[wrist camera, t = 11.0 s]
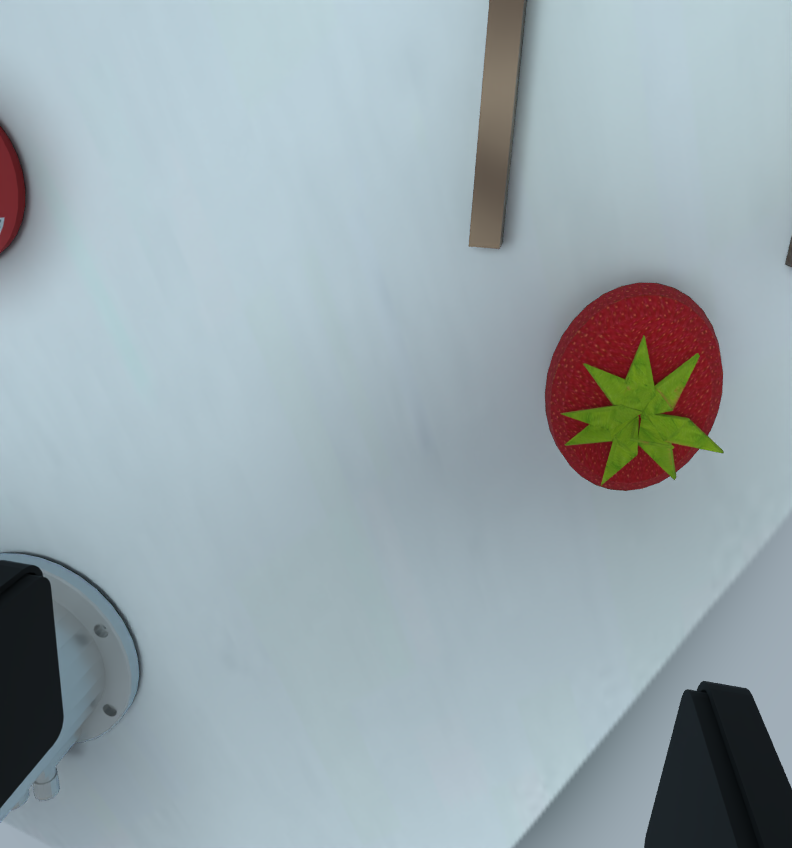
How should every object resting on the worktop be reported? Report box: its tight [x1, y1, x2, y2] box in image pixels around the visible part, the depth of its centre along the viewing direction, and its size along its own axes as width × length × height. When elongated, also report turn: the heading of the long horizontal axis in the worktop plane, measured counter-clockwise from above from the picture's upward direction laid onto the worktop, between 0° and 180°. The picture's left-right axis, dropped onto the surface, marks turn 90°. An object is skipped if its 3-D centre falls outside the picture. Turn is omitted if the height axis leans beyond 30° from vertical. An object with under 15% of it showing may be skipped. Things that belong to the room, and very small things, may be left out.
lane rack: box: [469, 0, 792, 267], centre depth 24 cm, size 17×13×4 cm
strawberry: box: [545, 283, 723, 491], centre depth 26 cm, size 6×8×10 cm
